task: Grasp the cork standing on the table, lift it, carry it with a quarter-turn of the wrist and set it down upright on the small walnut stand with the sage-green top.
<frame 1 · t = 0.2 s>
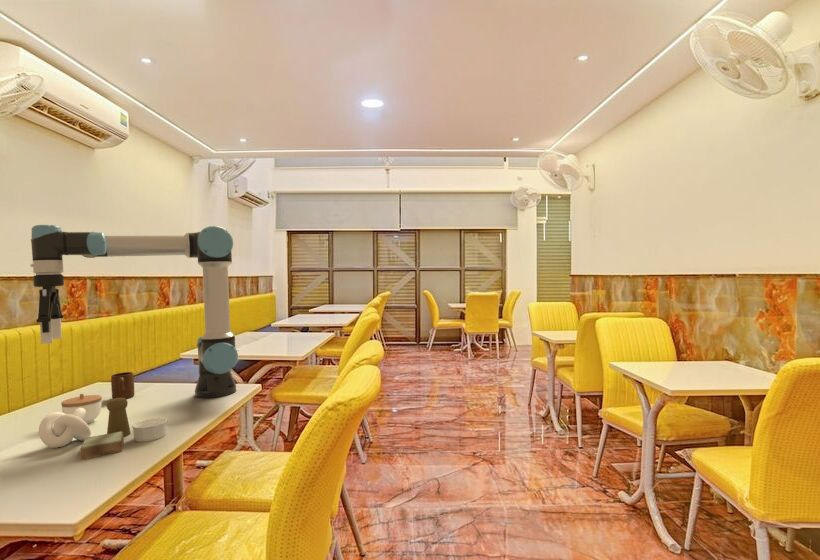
hand: (51, 340, 145), 28 cm above the table, fingers open, 13 cm apart
stand: (103, 449, 123), on the table
mug: (123, 399, 179), on the table
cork: (118, 436, 135), on the table
white decorative knot: (70, 443, 130), on the table
ramekin: (150, 438, 132), on the table
lidded jar: (83, 423, 149), on the table
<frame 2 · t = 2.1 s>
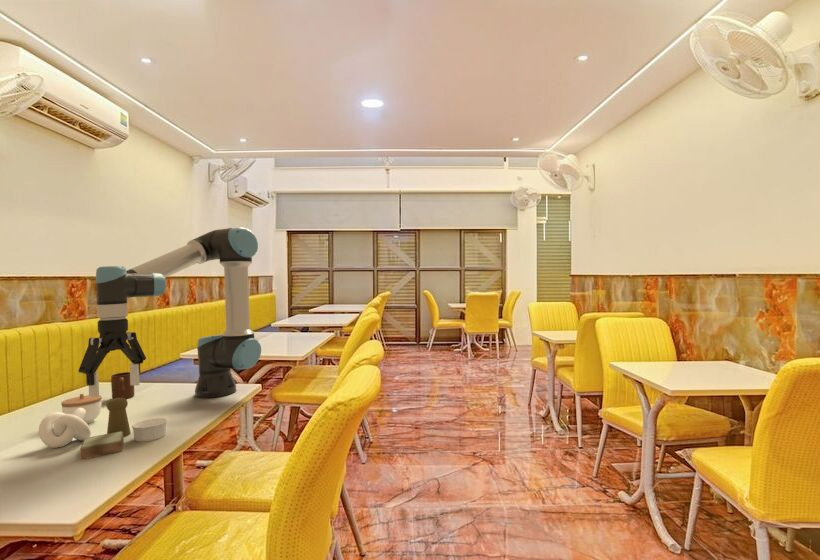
hand: (115, 390, 134), 13 cm above the table, fingers open, 13 cm apart
nothing on the table moved.
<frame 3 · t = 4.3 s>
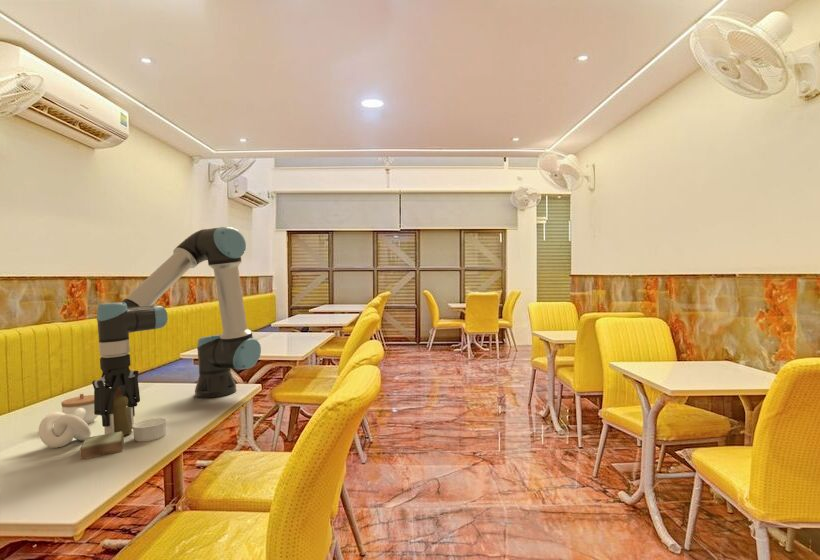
hand: (119, 432, 135), 1 cm above the table, fingers closed on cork, 6 cm apart
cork: (120, 434, 135), on the table, touching gripper
everything else where it was.
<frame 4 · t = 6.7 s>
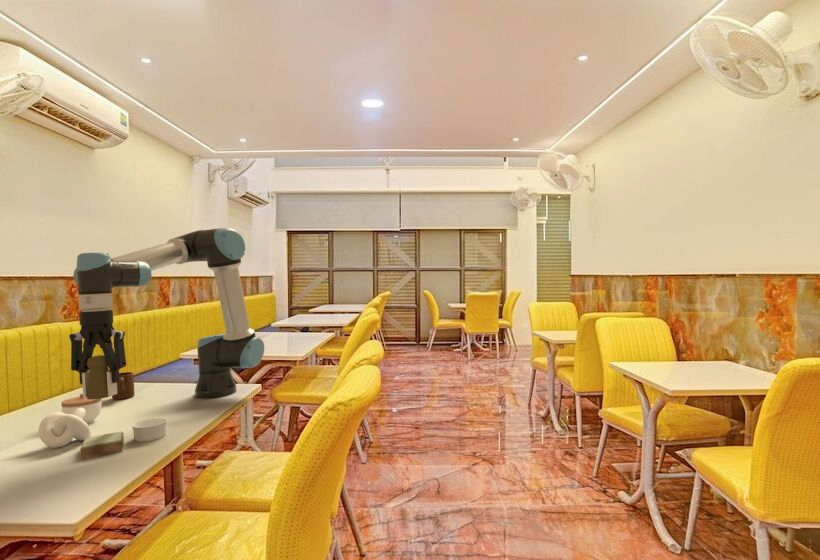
hand: (100, 395, 123), 15 cm above the table, fingers closed on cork, 6 cm apart
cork: (100, 397, 123), point 14 cm above the table, touching gripper
everything else where it was.
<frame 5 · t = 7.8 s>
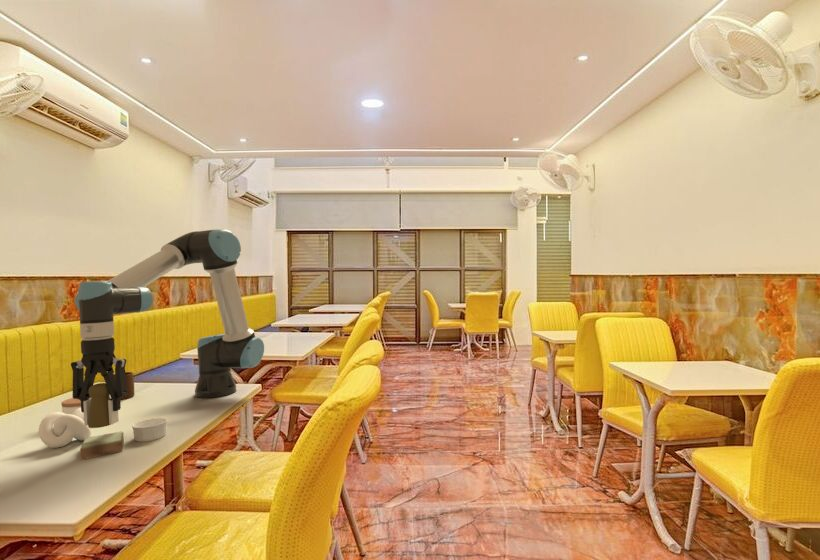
hand: (101, 423, 123), 7 cm above the table, fingers closed on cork, 6 cm apart
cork: (101, 425, 123), point 7 cm above the table, touching gripper
everything else where it was.
when the fingers open (4 cm above the table, at t = 8.8 s): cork drops 1 cm, resting on stand.
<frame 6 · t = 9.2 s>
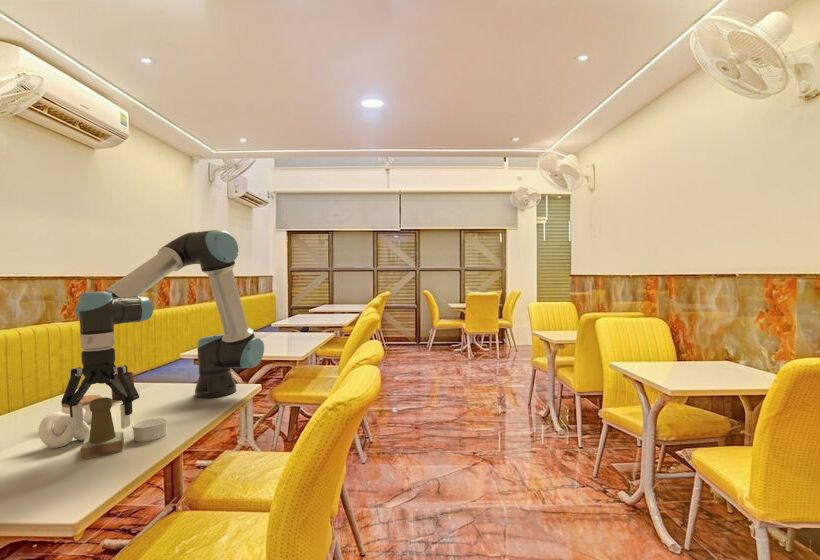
hand: (102, 428, 123), 6 cm above the table, fingers open, 12 cm apart
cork: (102, 439, 123), point 3 cm above the table, touching stand
everything else where it was.
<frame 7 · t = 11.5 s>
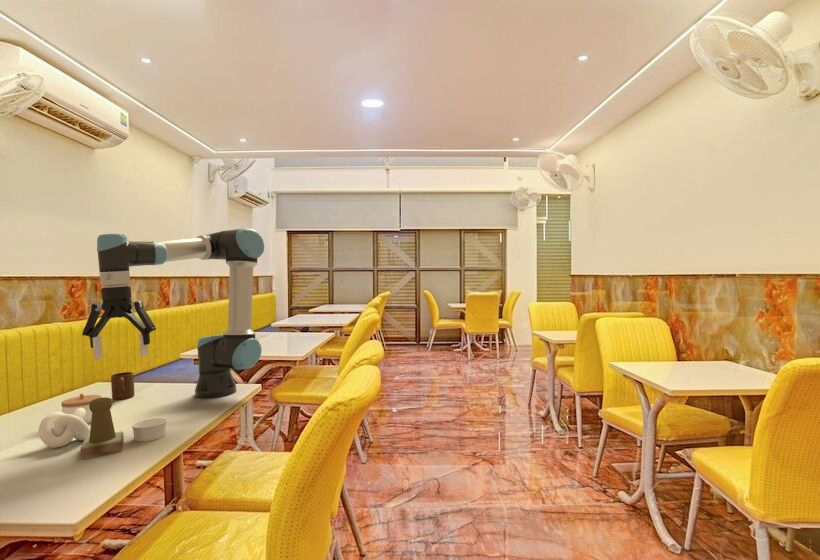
hand: (121, 357, 136), 23 cm above the table, fingers open, 13 cm apart
nothing on the table moved.
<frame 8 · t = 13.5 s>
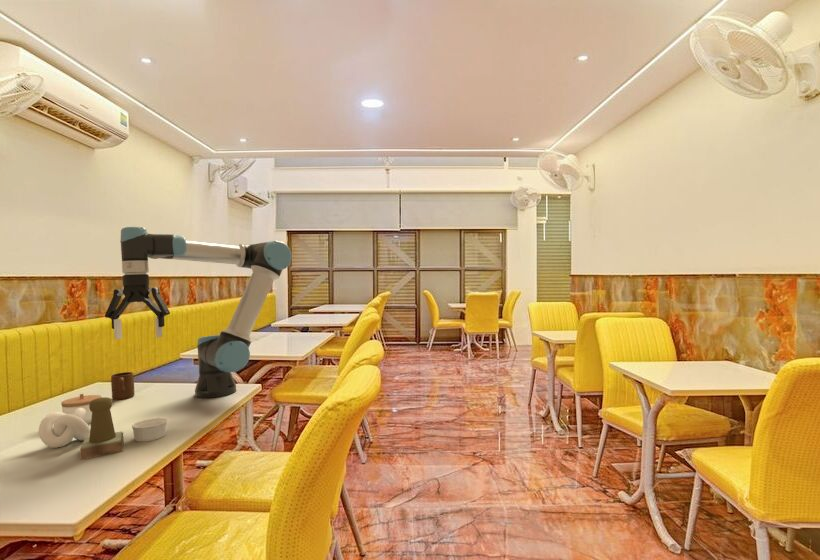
hand: (138, 337, 151), 27 cm above the table, fingers open, 13 cm apart
nothing on the table moved.
at the end: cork inside the target area on the stand (0.1 cm from its centre), point 2.8 cm above the stand's base; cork tilted 0°; the gripper is holding nothing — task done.
